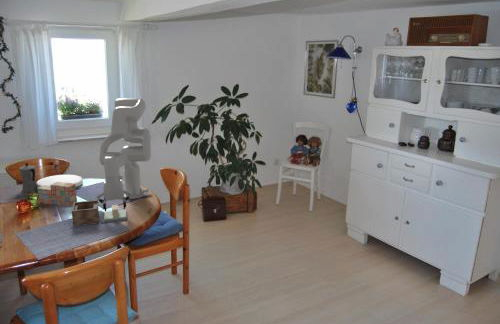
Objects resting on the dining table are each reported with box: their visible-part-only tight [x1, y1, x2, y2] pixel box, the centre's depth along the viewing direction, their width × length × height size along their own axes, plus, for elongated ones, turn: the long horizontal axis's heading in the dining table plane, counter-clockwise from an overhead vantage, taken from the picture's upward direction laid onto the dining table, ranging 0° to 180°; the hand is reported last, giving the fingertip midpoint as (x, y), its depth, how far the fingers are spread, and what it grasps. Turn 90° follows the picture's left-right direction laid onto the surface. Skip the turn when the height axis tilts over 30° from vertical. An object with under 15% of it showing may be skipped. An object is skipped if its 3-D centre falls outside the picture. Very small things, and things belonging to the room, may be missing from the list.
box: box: [71, 199, 100, 227], centre depth 218 cm, size 12×13×8 cm
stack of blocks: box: [37, 182, 78, 208], centre depth 240 cm, size 21×6×12 cm, turn 76°
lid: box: [104, 204, 128, 221], centre depth 222 cm, size 11×11×5 cm
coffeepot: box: [18, 162, 38, 193], centre depth 260 cm, size 15×9×18 cm, turn 53°
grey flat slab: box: [100, 211, 128, 224], centre depth 223 cm, size 13×14×1 cm
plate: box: [36, 174, 84, 188], centre depth 270 cm, size 28×6×27 cm
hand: (115, 209), depth 222 cm, fingers open, 9 cm apart
